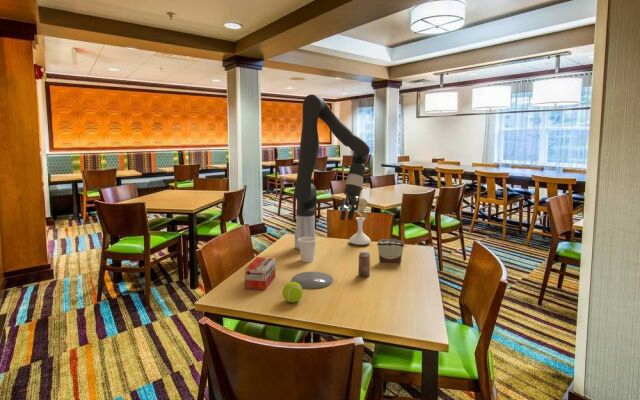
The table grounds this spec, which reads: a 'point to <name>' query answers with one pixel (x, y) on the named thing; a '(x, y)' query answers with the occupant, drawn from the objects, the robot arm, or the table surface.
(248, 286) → the medicine box
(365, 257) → the pepper mill
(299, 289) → the tennis ball
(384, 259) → the food container
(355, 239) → the flower in vase
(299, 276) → the trivet
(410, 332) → the table surface
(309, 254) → the dixie cup
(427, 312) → the table surface
